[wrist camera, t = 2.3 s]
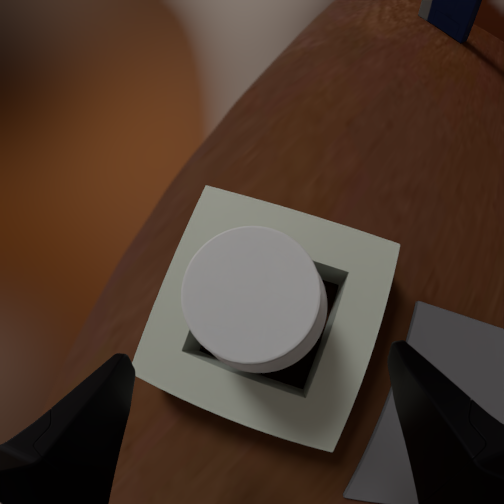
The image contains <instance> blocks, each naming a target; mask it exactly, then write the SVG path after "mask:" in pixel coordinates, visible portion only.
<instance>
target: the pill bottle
mask: <svg viewBox="0 0 504 504" xmlns="http://www.w3.org/2000/svg"><path fill="white" fill-rule="evenodd" d="M181 306H182V311H183V315H184V318H185V320H186V323H187V325H188V327H189V329H190V331H191V333H192V334H193V336H194V337H195V338H196V339H197V341H198V342H199V343H200V344H201V345H202V346H203V347H204V348H205V349H207V350H208V351H209V352H211V353H212V354H213V355H214V356H215V357H216V358H217V359H219V360H220V361H221V362H223V363H225V364H226V365H228V366H230V367H233V368H235V369H238V370H241V371H245V372H250V373H268V372H274V371H278V370H281V369H284V368H286V367H289V366H291V365H293V364H294V363H296V362H298V361H299V360H300V359H302V358H303V357H304V356H305V355H306V354H307V353H308V352H309V351H310V350H311V349H312V347H313V346H314V345H315V343H316V342H317V340H318V339H319V337H320V335H321V333H322V330H323V328H324V325H325V321H326V316H327V295H326V290H325V287H324V284H323V281H322V279H321V276H320V274H319V273H318V271H317V269H316V267H315V264H314V262H313V260H312V259H311V257H310V256H309V254H308V253H307V252H306V250H305V249H304V248H303V247H302V246H301V245H300V244H299V243H298V242H297V241H295V240H294V239H293V238H291V237H290V236H288V235H286V234H284V233H282V232H280V231H277V230H275V229H272V228H268V227H262V226H243V227H237V228H233V229H230V230H227V231H224V232H222V233H220V234H218V235H216V236H215V237H213V238H212V239H210V240H209V241H208V242H206V243H205V244H204V245H203V246H202V247H201V248H200V249H199V250H198V251H197V253H196V254H195V255H194V256H193V258H192V260H191V261H190V263H189V265H188V267H187V269H186V272H185V275H184V278H183V282H182V288H181Z"/></svg>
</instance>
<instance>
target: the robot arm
mask: <svg viewBox="0 0 504 504" xmlns="http://www.w3.org/2000/svg"><path fill="white" fill-rule="evenodd" d="M388 369H389V374H390V380H391V386H392V392H393V398H394V403H395V407H396V411H397V414H398V418H399V422H400V425H401V429H402V433H403V437H404V441H405V445H406V449H407V453H408V457H409V461H410V466H411V470H412V474H413V479H414V484H415V488H416V493H417V498H418V504H504V424H502V423H501V422H499V421H498V420H497V419H495V418H494V417H493V416H491V415H490V414H489V413H488V412H486V411H485V410H484V409H483V408H482V407H481V406H479V405H478V404H477V403H476V402H475V401H474V400H473V399H472V400H471V398H470V397H469V396H468V395H467V394H466V393H465V392H464V391H462V390H461V389H460V388H459V387H458V386H457V385H456V384H454V383H453V382H452V381H451V380H450V379H449V378H448V377H446V376H445V375H444V374H443V373H442V372H441V371H440V370H438V369H437V368H436V367H435V366H434V365H433V364H432V363H430V362H429V361H428V360H427V359H426V358H425V357H423V356H422V355H421V354H420V353H419V352H418V351H416V350H415V349H414V348H413V347H412V346H410V345H409V344H408V343H407V342H406V341H404V340H401V341H394V342H393V343H392V344H391V348H390V352H389V356H388ZM134 381H135V368H134V366H133V365H132V363H131V361H130V359H129V357H128V355H126V354H120V353H117V354H115V355H113V356H112V357H111V358H110V359H109V360H107V361H106V362H105V363H104V364H103V365H102V366H100V367H99V368H98V369H97V370H96V371H94V372H93V373H92V374H91V375H90V376H89V377H87V378H86V379H85V380H84V381H83V382H81V383H80V384H79V385H78V386H77V387H76V388H74V389H73V390H72V391H71V392H70V393H68V394H67V395H66V396H65V397H64V398H63V399H61V400H60V401H59V402H58V403H57V404H56V405H54V406H53V407H52V409H50V410H48V411H47V412H46V413H45V414H44V415H42V416H41V417H40V418H39V419H38V420H36V421H35V422H34V423H33V424H31V425H30V426H28V427H27V428H26V429H24V430H23V431H21V432H20V433H19V434H17V435H16V436H14V437H13V438H11V439H10V440H8V441H7V442H5V443H4V444H1V445H0V504H108V503H109V498H110V493H111V488H112V483H113V479H114V474H115V470H116V465H117V461H118V456H119V452H120V448H121V444H122V440H123V436H124V432H125V428H126V424H127V420H128V416H129V412H130V407H131V400H132V394H133V387H134Z"/></svg>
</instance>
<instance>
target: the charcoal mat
mask: <svg viewBox="0 0 504 504" xmlns="http://www.w3.org/2000/svg"><path fill="white" fill-rule="evenodd" d="M406 342H407V343H408V344H409V345H410V346H412V347H413V348H414V349H415V350H416V351H418V352H419V353H420V354H421V355H422V356H423V357H425V358H426V359H427V360H428V361H429V362H430V363H432V364H433V365H434V366H435V367H436V368H437V369H438V370H440V371H441V372H442V373H443V374H444V375H445V376H446V377H448V378H449V379H450V380H451V381H452V382H453V383H454V384H456V385H457V386H458V387H459V388H460V389H461V390H462V391H464V392H465V393H466V394H467V395H468V396H469V397H470V398H471V400H472V399H473V400H474V401H475V402H476V403H477V404H478V405H479V406H481V407H482V408H483V409H484V410H485V411H486V412H488V413H489V414H490V415H491V416H493V417H494V418H495V419H497V420H498V421H499V422H501V423H502V424H504V329H502V328H499V327H496V326H493V325H490V324H487V323H484V322H481V321H478V320H475V319H472V318H469V317H466V316H463V315H460V314H457V313H454V312H451V311H448V310H444V309H441V308H438V307H435V306H432V305H429V304H426V303H423V302H420V301H418V302H416V304H415V308H414V312H413V316H412V320H411V324H410V328H409V331H408V335H407V338H406ZM343 496H344V498H349V499H355V500H362V501H368V502H376V503H384V504H418V498H417V493H416V488H415V484H414V479H413V474H412V470H411V466H410V461H409V457H408V453H407V449H406V445H405V441H404V437H403V433H402V429H401V425H400V422H399V418H398V414H397V411H396V407H395V403H394V398H393V392H392V386H391V388H390V391H389V394H388V397H387V399H386V402H385V405H384V407H383V410H382V412H381V415H380V417H379V420H378V422H377V425H376V427H375V429H374V432H373V434H372V436H371V439H370V441H369V443H368V445H367V447H366V450H365V452H364V454H363V456H362V458H361V460H360V462H359V464H358V466H357V468H356V470H355V472H354V474H353V476H352V478H351V480H350V482H349V484H348V486H347V488H346V490H345V491H344V493H343Z"/></svg>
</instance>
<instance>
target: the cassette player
mask: <svg viewBox="0 0 504 504" xmlns="http://www.w3.org/2000/svg"><path fill="white" fill-rule="evenodd" d="M481 1H482V0H422V2H421V6H420V10H419V14H418V16H420V17H422V18H423V19H425V20H427V21H428V22H430V23H431V24H433V25H435V26H436V27H438V28H439V29H441V30H442V31H444V32H445V33H447V34H448V35H450V36H451V37H452V38H454V39H455V40H457V41H458V42H459V43H463V42H465V41H467V38H468V36H469V33H470V31H471V28H472V26H473V23H474V20H475V18H476V15H477V12H478V10H479V7H480V4H481Z"/></svg>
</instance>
